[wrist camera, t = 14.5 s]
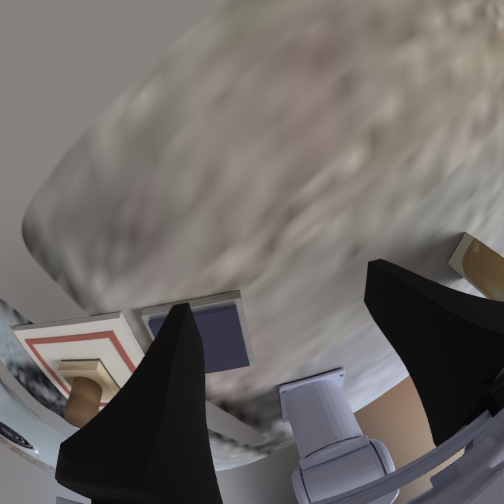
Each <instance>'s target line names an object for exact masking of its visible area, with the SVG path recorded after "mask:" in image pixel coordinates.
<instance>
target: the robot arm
mask: <svg viewBox="0 0 504 504" xmlns="http://www.w3.org/2000/svg"><path fill="white" fill-rule="evenodd" d="M364 302H365V304H366V306H367V308H368V310H369V312H370V314H371V316H372V318H373V319H374V321H375V322H376V324H377V325H378V327H379V328H380V330H381V331H382V332H383V334H384V335H385V337H386V338H387V339H388V341H389V342H390V344H391V345H392V346H393V348H394V349H395V351H396V352H397V354H398V355H399V356H400V358H401V360H402V361H403V363H404V365H405V366H406V368H407V370H408V372H409V374H410V376H411V378H412V380H413V382H414V384H415V387H416V389H417V392H418V394H419V396H420V398H421V401H422V404H423V407H424V409H425V412H426V415H427V418H428V422H429V425H430V429H431V433H432V437H433V442H434V444H435V446H436V448H435V449H433V450H431V451H430V452H428V453H426V454H425V455H423V456H421V457H420V458H418V459H416V460H414V461H413V462H411V463H409V464H407V465H405V466H403V467H401V468H400V469H397V470H395V467H394V464H393V461H392V459H391V456H390V454H389V452H388V450H387V449H386V447H385V445H384V444H383V443H382V442H381V441H380V440H376V439H374V438H373V439H371V440H369V439H368V437H367V435H364V436H363V434H362V432H361V429H360V427H359V425H358V423H357V421H356V419H355V416H354V414H353V412H352V410H351V408H350V406H349V404H348V401H347V399H346V397H345V395H344V393H343V391H342V388H343V383H344V378H345V373H346V370H345V369H344V368H341V369H338V370H335V371H332V372H328V373H325V374H322V375H318V376H315V377H312V378H308V379H304V380H301V381H297V382H293V383H289V384H285V385H282V386H280V387H279V394H280V402H281V410H282V418H283V422H288V421H290V424H291V428H292V431H293V434H294V437H295V441H296V444H297V447H298V450H299V454H300V457H301V460H299V463H300V466H301V467H298V468H296V469H295V471H294V473H293V474H292V481H293V487H294V490H295V494H296V497H297V500H298V502H299V504H392V503H393V501H394V500H395V499H396V497H397V495H398V493H399V488H400V487H403V486H404V485H406V484H408V483H410V482H412V481H414V480H415V479H417V478H419V477H420V476H422V475H424V474H425V473H427V472H429V471H431V470H432V469H434V468H435V467H437V466H438V465H440V464H441V463H443V462H444V461H446V460H447V459H449V458H450V457H452V456H453V455H454V454H456V453H457V452H459V451H460V450H461V449H463V448H464V447H465V446H466V447H465V452H464V454H463V455H462V456H461V457H460V458H459V459H457V460H456V461H455V462H453V463H452V464H450V465H449V466H447V467H446V468H445V469H443V470H442V471H440V472H438V473H437V474H436V475H434V476H432V477H431V478H430V481H431V483H432V485H433V488H431V489H430V490H428V491H426V492H424V493H423V494H421V495H419V496H417V497H416V498H414V499H412V500H410V501H408V502H406V503H405V504H504V302H503V301H496V300H491V299H486V298H482V297H477V296H474V295H470V294H467V293H463V292H460V291H457V290H454V289H451V288H449V287H446V286H444V285H441V284H439V283H436V282H434V281H431V280H429V279H427V278H424V277H422V276H420V275H418V274H415V273H413V272H411V271H409V270H407V269H404V268H402V267H400V266H398V265H395V264H393V263H391V262H388V261H385V260H383V259H378V260H374V261H370V262H368V270H367V279H366V288H365V297H364ZM55 479H56V480H57V482H58V483H59V484H61V485H62V486H64V487H66V488H68V489H70V490H72V491H74V492H76V493H78V494H81V495H82V496H84V497H87V498H89V499H91V504H223V502H222V498H221V494H220V491H219V487H218V483H217V478H216V474H215V469H214V465H213V460H212V454H211V449H210V443H209V437H208V430H207V423H206V410H205V358H204V350H203V342H202V338H201V335H200V333H199V330H198V327H197V324H196V322H195V319H194V316H193V313H192V311H191V308H190V305H189V302H187V303H181V304H176V305H173V306H172V307H171V309H170V311H169V313H168V315H167V317H166V319H165V320H164V322H163V324H162V326H161V328H160V330H159V332H158V333H157V335H156V337H155V339H154V341H153V342H152V344H151V346H150V348H149V349H148V351H147V352H146V354H145V356H144V357H143V359H142V360H141V362H140V364H139V365H138V367H137V368H136V369H135V371H134V372H133V374H132V375H131V376H130V378H129V379H128V380H127V382H126V383H125V384H124V386H123V387H122V388H121V389H120V390H119V391H118V392H117V394H116V395H115V396H114V397H113V398H112V399H111V400H110V401H109V403H108V404H107V405H106V406H105V407H104V408H103V409H102V410H101V411H100V412H99V413H98V414H97V415H96V416H95V417H93V418H92V419H91V420H90V421H89V422H88V423H87V424H86V425H84V426H83V427H82V428H81V429H80V430H78V431H77V432H76V433H74V434H73V435H72V436H70V437H69V438H68V439H66V440H65V441H64V442H62V443H61V444H60V449H59V454H58V460H57V466H56V473H55ZM56 504H83V503H79V502H75V501H72V500H68V499H64V498H61V497H56Z"/></svg>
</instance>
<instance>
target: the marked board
mask: <svg viewBox="0 0 504 504" xmlns="http://www.w3.org/2000/svg"><path fill="white" fill-rule="evenodd" d="M13 332H14V333H15V335H16V336H17V338H18V339H19V341H20V342H21V344H22V345H23V346H24V348H25V349H26V350H27V352H28V353H29V354H30V356H31V357H32V358H33V360H34V361H35V362H36V364H37V365H38V366H39V367H40V369H41V370H42V371H43V372H44V373H45V375H46V376H47V377H48V378H49V379H50V380H51V382H52V383H53V384H54V385H55V386H56V387H57V388H58V389H59V391H60V392H61V393H62V394H63V395H64V396H65V397H66V398H67V399H68V398H69V394H70V391H71V386H70V385H69V384H68V383H67V382H66V380H65V379H64V378H63V377H62V375H61V374H60V373H59V372H58V367H59V365H60V362H61V360H65V359H98V358H100V360H101V361H102V363H103V364H104V366H105V367H106V368H107V370H108V371H109V373H110V374H111V376H112V377H113V378H114V380H115V381H116V383H117V384H118V385H119V387H120V388H122V387H123V386H124V384H125V383H126V382H127V380H128V379H129V378H130V376H131V375H132V374H133V372H134V371H135V369H136V368H137V367H138V365H139V364H140V362H141V360H142V359H143V357H144V356H145V355H144V353H143V351H142V349H141V348H140V346H139V344H138V342H137V341H136V339H135V337H134V335H133V333H132V331H131V329H130V328H129V326H128V324H127V322H126V320H125V318H124V316H123V314H122V312H116V313H110V314H104V315H97V316H90V317H83V318H76V319H69V320H62V321H54V322H46V323H39V324H29V325H20V326H15V328H14V330H13ZM109 401H110V400H101V401H100V406H99V410H102V409H103V408H104V407H105V406H106V405H107V404H108V403H109Z"/></svg>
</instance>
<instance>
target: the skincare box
mask: <svg viewBox="0 0 504 504" xmlns="http://www.w3.org/2000/svg"><path fill="white" fill-rule="evenodd" d="M448 264H449V265H450V266H451V267H452V268H453V269H454V270H455V271H456V272H457V273H459V274H460V275H461V276H462V277H464V278H465V279H466V280H467V281H468V282H469V283H471V284H472V285H473V286H474V287H475V288H476V289H478V290H479V291H480V292H481V293H482V294H483V295H484V296H485V297H486V298H487V299H491V300H496V301H503V302H504V258H503V257H502V256H500V255H499V254H498V253H496V252H495V251H493V250H492V249H490V248H489V247H488V246H486V245H485V244H483V243H482V242H480V241H479V240H477V239H476V238H474V237H473V236H471V235H470V234H468V233H466V232H465V234H464V236H463V237H462V239H461V241H460V243H459V244H458V246H457V248H456V249H455V251H454V253H453V254H452V256H451V258H450V259H449V261H448Z"/></svg>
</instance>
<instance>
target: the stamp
mask: <svg viewBox="0 0 504 504" xmlns="http://www.w3.org/2000/svg"><path fill="white" fill-rule="evenodd" d="M58 372H59V373H60V374H61V375H62V377H63V378H64V379H65V380H66V382H67V383H68V384H69V385H70V386H71V391H70V394H69V398H68V402H67V405H66V409H65V413H64V418H65V420H66V421H68V422H69V423H70V424H72V425H73V426H75V427H78V428H80V429H81V428H82V427H83V426H84V425H86V424H87V423H88V422H89V421H90V420H91V419H92V418H93V417H95V416H96V415H97V414H98V412H99V406H100V401H101V400H111V399H112V398H113V397H114V396H115V395H116V394H117V392H118V391H119V390H120V389H121V388H120V387H119V385H118V384H117V383H116V381H115V380H114V378H113V377H112V376H111V374H110V373H109V371H108V370H107V368H106V367H105V366H104V364H103V363H102V361H101V360H100V358H98V359H65V360H61V362H60V365H59V367H58Z"/></svg>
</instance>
